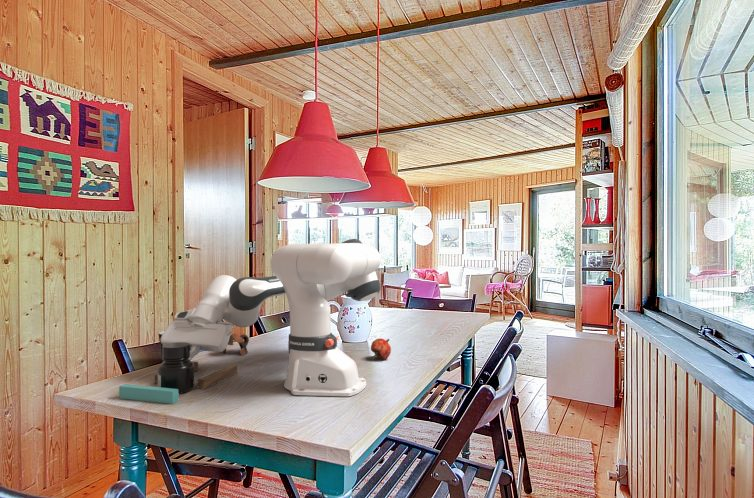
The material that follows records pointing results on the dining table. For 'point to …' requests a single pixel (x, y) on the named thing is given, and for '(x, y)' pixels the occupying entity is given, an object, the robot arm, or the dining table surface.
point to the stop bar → (148, 393)
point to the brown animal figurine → (241, 342)
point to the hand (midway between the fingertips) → (182, 361)
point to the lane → (212, 375)
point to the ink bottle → (176, 367)
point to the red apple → (380, 348)
